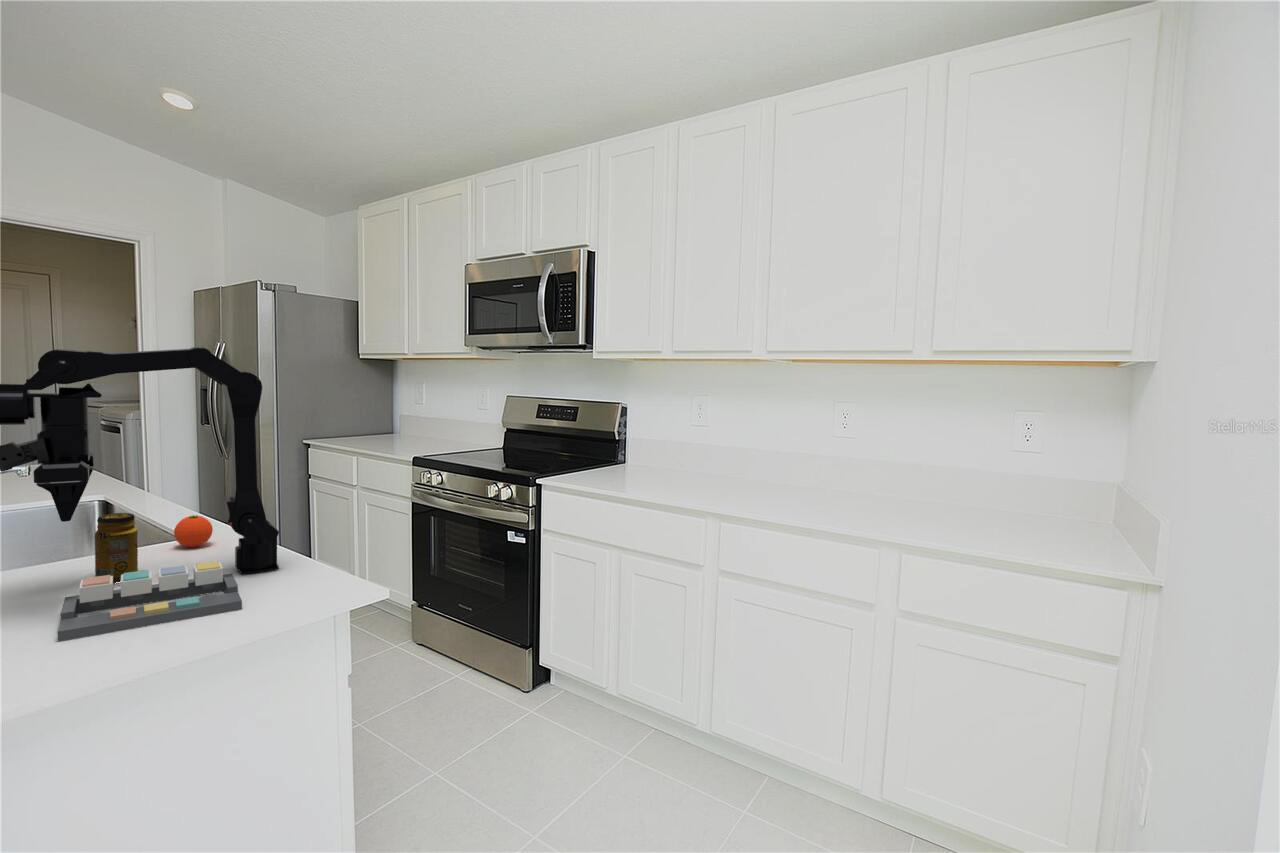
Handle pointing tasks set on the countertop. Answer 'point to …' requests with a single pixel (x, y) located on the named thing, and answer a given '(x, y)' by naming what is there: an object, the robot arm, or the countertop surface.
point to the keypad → (146, 609)
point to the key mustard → (208, 574)
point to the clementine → (193, 531)
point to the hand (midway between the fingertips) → (68, 515)
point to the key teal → (136, 584)
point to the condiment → (116, 546)
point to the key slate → (173, 579)
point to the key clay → (96, 590)
